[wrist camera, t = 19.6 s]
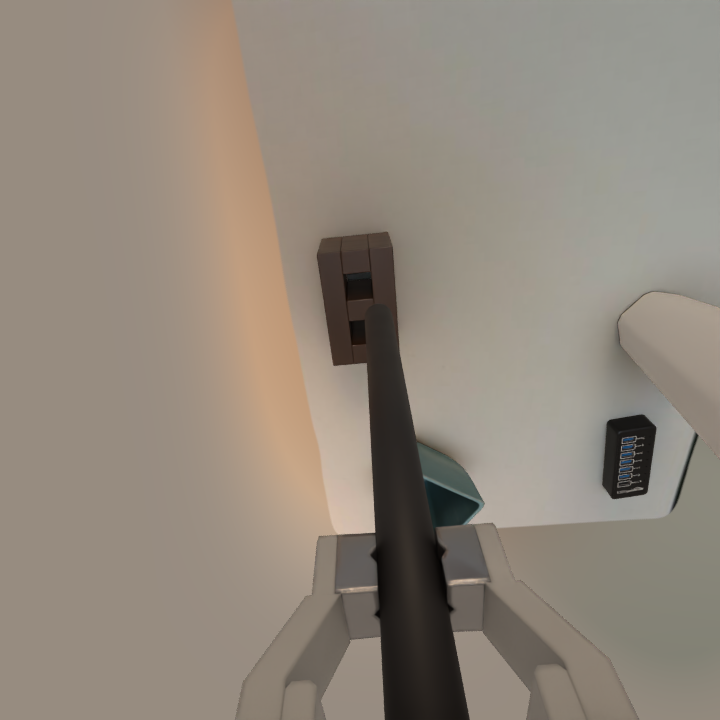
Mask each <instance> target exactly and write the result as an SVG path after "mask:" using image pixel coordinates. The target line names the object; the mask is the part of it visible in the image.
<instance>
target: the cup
mask: <svg viewBox="0 0 720 720" xmlns="http://www.w3.org/2000/svg"><path fill="white" fill-rule="evenodd" d="M618 329H619V337H620V345H621V346H622V348H623V349H624V350H625V351H626V352H627V353H628V354H629V356H630V357H631V358H632V359H633V360H634V361H635V363H636V364H637V365H638V366H639V367H640V368H641V369H642V371H643V372H644V373H645V374H646V375H647V376H648V377H649V379H650V380H651V381H652V382H653V383H654V384H655V386H656V387H657V388H658V389H659V390H660V391H661V392H662V394H663V395H664V396H665V397H666V398H667V399H668V400H669V402H670V403H671V404H672V405H673V406H674V407H675V409H676V410H677V411H678V412H679V413H680V414H681V415H682V417H683V418H684V419H685V420H686V421H687V422H688V424H689V425H690V426H691V427H692V428H693V429H694V430H695V432H696V433H697V434H698V435H699V436H700V437H701V438H702V440H703V441H704V442H705V443H706V444H707V445H708V446H709V448H710V449H711V450H712V451H713V452H714V453H715V455H716V456H717V457H718V458H719V459H720V308H719V307H716V306H713V305H710V304H707V303H703V302H700V301H697V300H694V299H691V298H688V297H685V296H681V295H676V294H669V293H662V292H655V291H653V292H651V293H648V294H645V295H643V296H642V297H641V298H640V299H639V300H638V301H637V302H636V303H634V304H633V305H632V306H631V307H630V308H629V309H628V310H626V311H625V312H624V313H623V314H622V315H621V317H620V319H619V321H618Z"/></svg>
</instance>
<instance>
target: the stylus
mask: <svg viewBox="0 0 720 720" xmlns="http://www.w3.org/2000/svg"><path fill="white" fill-rule="evenodd" d="M365 333H366V353H367V373H368V393H369V413H370V433H371V453H372V473H373V492H374V512H375V532H376V538H377V550H378V566H377V568H378V576H379V588H380V632H381V651H382V672H383V692H384V712H385V720H470V719H469V714H468V708H467V703H466V698H465V693H464V687H463V682H462V677H461V672H460V667H459V661H458V656H457V651H456V646H455V640H454V636H453V630H452V625H451V619H450V614H449V609H448V604H447V600H446V595H445V590H444V585H443V580H442V572H441V567H440V562H439V559H438V554H437V549H436V543H435V538H434V530H433V525H432V520H431V515H430V509H429V504H428V499H427V494H426V489H425V483H424V478H423V473H422V468H421V462H420V457H419V452H418V447H417V441H416V436H415V431H414V426H413V420H412V415H411V410H410V405H409V400H408V394H407V389H406V384H405V379H404V373H403V368H402V363H401V358H400V352H399V347H398V342H397V337H396V331H395V326H394V321H393V316H392V312H391V310H390V309H389V308H388V307H387V306H386V305H384V304H374V305H372V306H370V307H369V308H368V309H367V311H366V313H365Z"/></svg>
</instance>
